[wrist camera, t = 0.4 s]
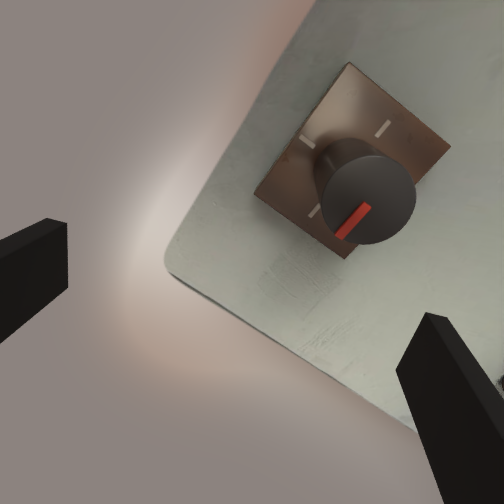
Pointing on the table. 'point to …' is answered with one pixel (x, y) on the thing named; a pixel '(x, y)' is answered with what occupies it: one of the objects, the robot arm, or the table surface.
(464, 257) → the table surface
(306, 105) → the table surface
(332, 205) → the dial
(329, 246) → the knob panel
